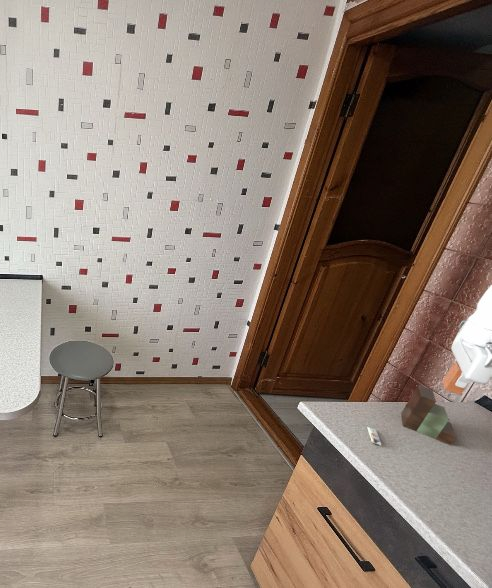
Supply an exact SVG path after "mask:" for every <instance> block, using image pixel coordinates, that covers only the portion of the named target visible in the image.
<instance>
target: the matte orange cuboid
mask: <svg viewBox="0 0 492 588" xmlns="http://www.w3.org/2000/svg"><path fill="white" fill-rule="evenodd" d="M454 361H455V360H454ZM454 361H453V363H452V366H451V367H450V368H449V370H448V371H447V373H446V375H444V377H443V379H442V380H441V383H442V385H443V389H444V390H445V391H448V392H450V393H454V394H456V395H460V396H461V395H462V394H463V392H464V391H465V390H466V388H467V386H468V385H469V383H468V384H467V386H466V387H465V388H461V387H458V386H456V385H455V381H456V379H457V378H459V377H460V376H461V373H462V371H461V369H460V367H459V365H458V363H457V361H455V362H454Z"/></svg>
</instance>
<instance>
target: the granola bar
mask: <svg viewBox="0 0 492 588" xmlns="http://www.w3.org/2000/svg"><path fill="white" fill-rule="evenodd" d="M366 428H367V431H368V435H369V437H370V441H371V443H373V444H374V445H375V444H376V445H378V446H381V447H382V443H381V442H382V441H381V439H380V437H379V434H378V430H377V429H375V428H372V427H369V426H366Z"/></svg>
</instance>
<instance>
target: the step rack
mask: <svg viewBox="0 0 492 588" xmlns="http://www.w3.org/2000/svg"><path fill="white" fill-rule="evenodd" d="M400 415H401V422H402V427H404V428H407V429H410V430H412V431H415V432H417V433H419V434H422V435H424V436H427V437H430V438H432V439H434V440H437V441H440V442H442V443H444V444H447V445H449V446H451V445H452V444H453V443H454V442H455V440H456V439H457V435H456V432H455V428H454V426H453V423H452V422H449V417H448V414H447V410H446V408H445V406H442V405H440V404H437V400H436V397H435V393H434V390H433V389H432V388H429V387H427V386H424V385H420V384H418V385H417V386H416V388H415V390H414V391H413V393H412V395H411V396H410V398H409V400H408V401H407V403H406V405H405V406H404V408H403V409H402V411H401V413H400Z"/></svg>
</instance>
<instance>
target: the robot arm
mask: <svg viewBox="0 0 492 588" xmlns="http://www.w3.org/2000/svg"><path fill="white" fill-rule="evenodd" d="M458 328H459V330H458V332H457V334H456V336H455V338H454V339H453V341H452V344H451V349H450V350H451V352H452V354H453V357H454V361H453V363H454V362H455V361H457V363H458V365H459V367H460V369H461V371H462V373H461V376H460V377H459V378H457V379H456V381H455V385H456V386H458V387H461V388H465V387H466V388H467V386H468V385H469V384H468V383H471V382H472V383H476V384H478V385H483V386H484V385H487V384H488V383H490V381H491V379H492V284H491V285H489V287H487V289H486V291H484V293H483V295H482V296H481V297H480V298H479V300H478V302H477V303H476V308H475V311H474V312H473V313H472V314H471V315H470V316H469V317H468V318H467V319H466V320H462V321H461V322H460V323H459V325H458ZM467 384H468V385H467ZM466 388H465V389H466Z"/></svg>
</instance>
